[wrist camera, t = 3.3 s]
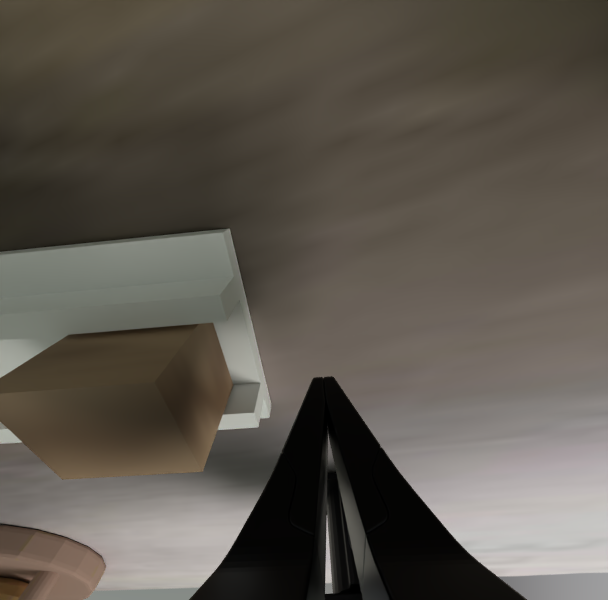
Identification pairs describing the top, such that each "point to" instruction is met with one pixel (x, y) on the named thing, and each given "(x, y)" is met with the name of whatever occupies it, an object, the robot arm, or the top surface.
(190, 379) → the walnut block
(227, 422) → the grey chute
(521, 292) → the top surface
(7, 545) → the hourglass
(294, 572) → the robot arm
